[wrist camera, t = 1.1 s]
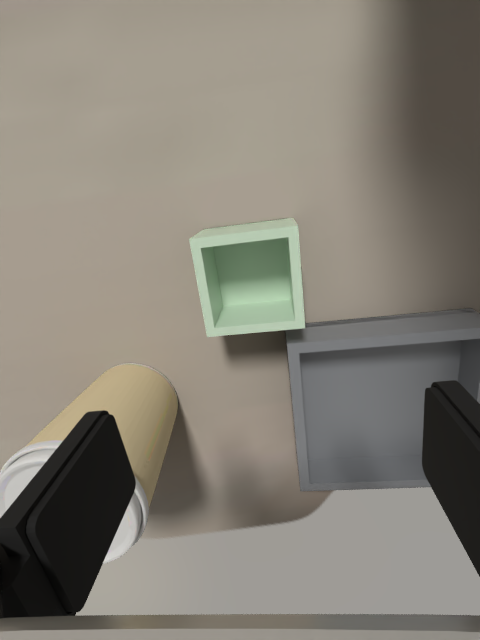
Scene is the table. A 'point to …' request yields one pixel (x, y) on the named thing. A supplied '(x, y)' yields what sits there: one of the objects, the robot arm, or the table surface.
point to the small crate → (249, 277)
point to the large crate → (374, 394)
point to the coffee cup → (136, 432)
